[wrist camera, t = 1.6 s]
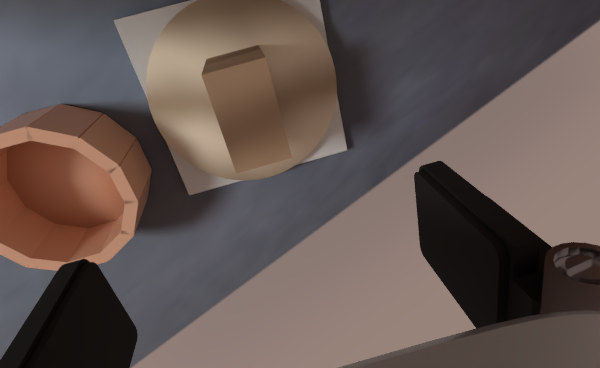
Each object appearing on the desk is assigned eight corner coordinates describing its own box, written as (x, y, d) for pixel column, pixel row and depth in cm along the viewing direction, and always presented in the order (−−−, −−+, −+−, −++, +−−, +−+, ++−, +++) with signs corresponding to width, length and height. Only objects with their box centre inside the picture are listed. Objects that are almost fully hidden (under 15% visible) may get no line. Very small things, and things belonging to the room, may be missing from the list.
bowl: (-33, 129, 25) (-88, 157, 21) (113, 89, 26) (90, 109, 21) (48, 244, 30) (17, 287, 26) (170, 209, 30) (160, 245, 26)
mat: (115, 19, 24) (113, 20, 23) (311, -32, 24) (313, -33, 24) (190, 192, 30) (189, 195, 30) (345, 147, 31) (347, 150, 30)
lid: (113, 20, 23) (78, 28, 18) (313, -33, 24) (339, -41, 18) (189, 195, 30) (181, 241, 24) (347, 149, 30) (374, 184, 25)
